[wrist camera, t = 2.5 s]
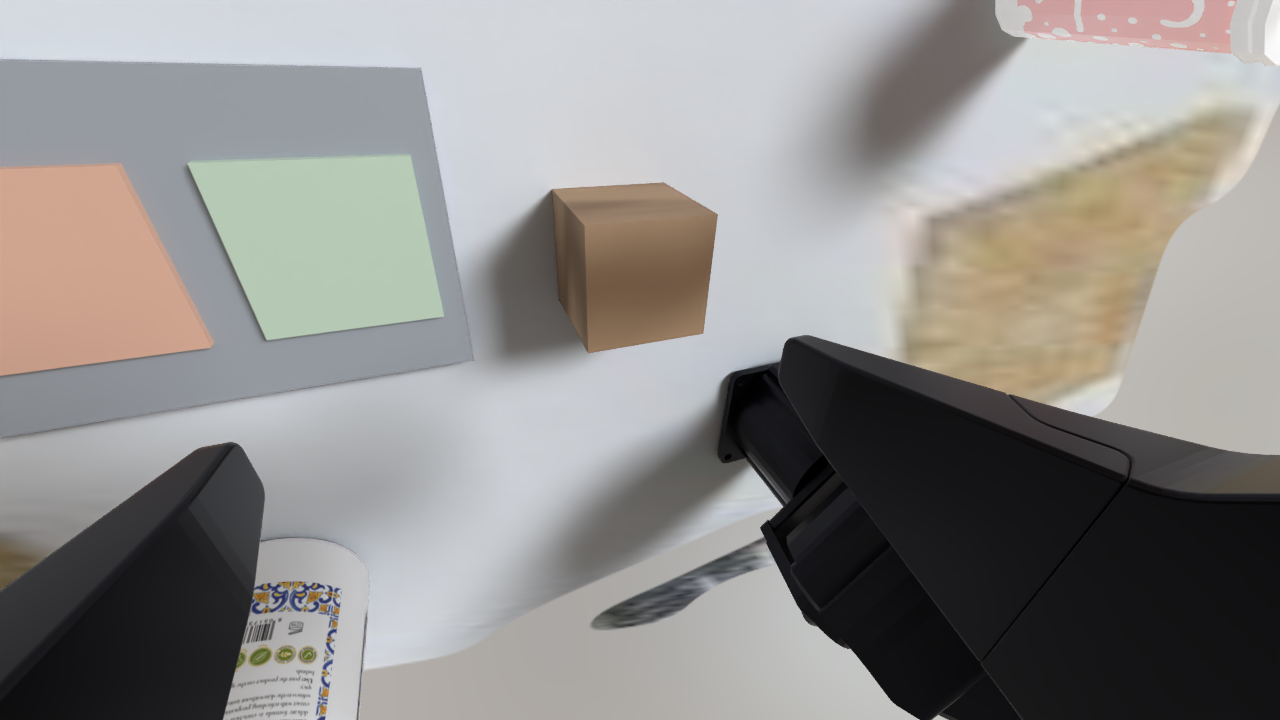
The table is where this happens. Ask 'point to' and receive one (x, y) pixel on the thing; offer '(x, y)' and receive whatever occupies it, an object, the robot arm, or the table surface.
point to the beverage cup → (1153, 24)
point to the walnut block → (632, 263)
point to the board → (214, 235)
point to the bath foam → (303, 635)
